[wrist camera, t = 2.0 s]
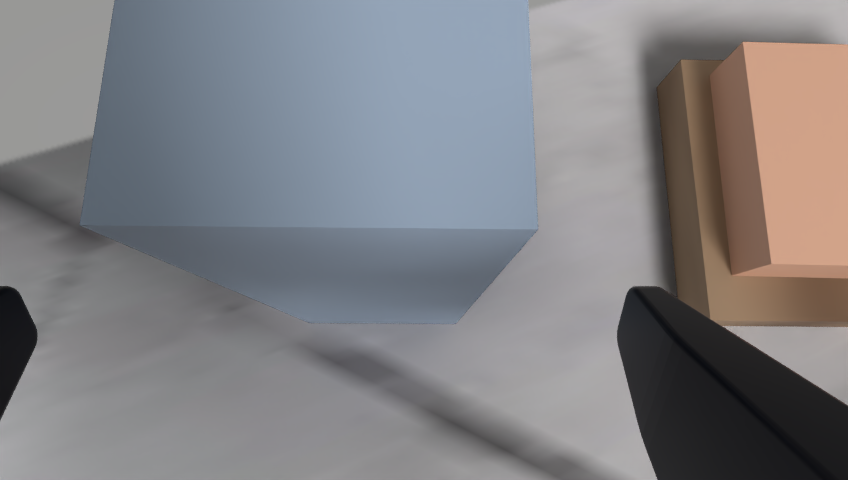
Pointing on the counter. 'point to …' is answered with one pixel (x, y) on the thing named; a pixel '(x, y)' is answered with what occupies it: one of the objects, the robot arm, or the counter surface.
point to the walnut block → (723, 222)
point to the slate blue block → (320, 149)
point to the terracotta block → (784, 158)
